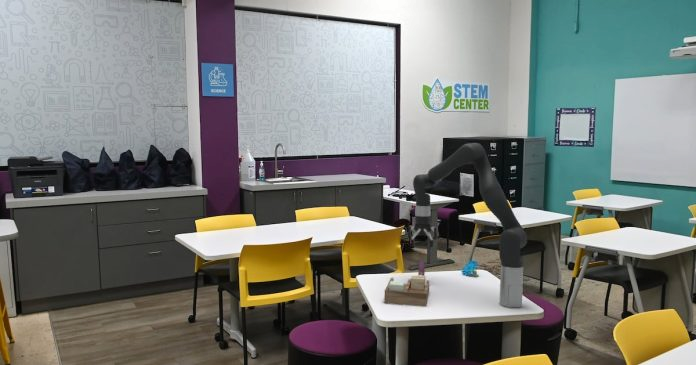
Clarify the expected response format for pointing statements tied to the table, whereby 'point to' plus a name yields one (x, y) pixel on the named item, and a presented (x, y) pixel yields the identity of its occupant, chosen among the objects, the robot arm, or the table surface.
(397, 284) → the sage block
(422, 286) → the purple handled mallet
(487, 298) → the table surface
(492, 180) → the robot arm
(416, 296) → the wooden tray
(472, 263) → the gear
